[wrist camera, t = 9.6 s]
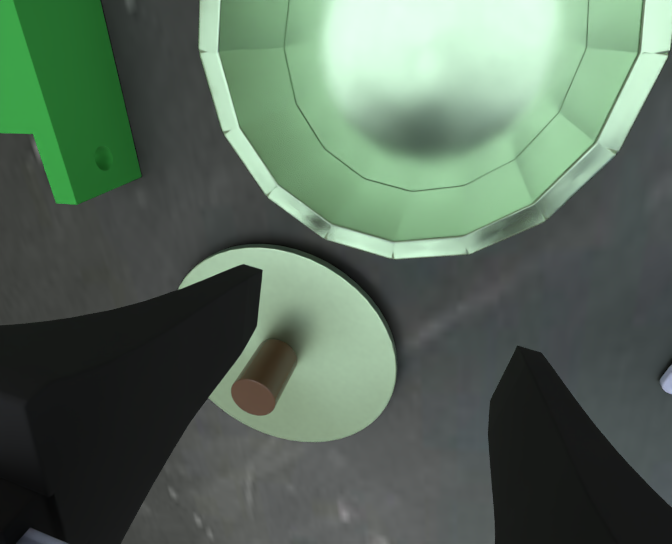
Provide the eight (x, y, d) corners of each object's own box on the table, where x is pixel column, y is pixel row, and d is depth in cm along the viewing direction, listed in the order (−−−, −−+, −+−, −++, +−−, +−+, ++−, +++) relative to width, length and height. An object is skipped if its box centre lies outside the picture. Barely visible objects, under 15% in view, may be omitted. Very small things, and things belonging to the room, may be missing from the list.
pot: (689, -138, 13) (828, -247, 8) (521, 234, 19) (541, 304, 14) (296, -199, 15) (205, -323, 10) (259, 162, 21) (193, 202, 16)
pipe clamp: (7, -86, 19) (-115, -121, 15) (80, -95, 18) (-29, -134, 14) (82, 174, 24) (6, 200, 20) (142, 177, 23) (75, 205, 19)
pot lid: (430, 282, 22) (421, 335, 18) (369, 455, 28) (353, 521, 24) (182, 208, 23) (125, 242, 19) (180, 388, 30) (138, 440, 26)
